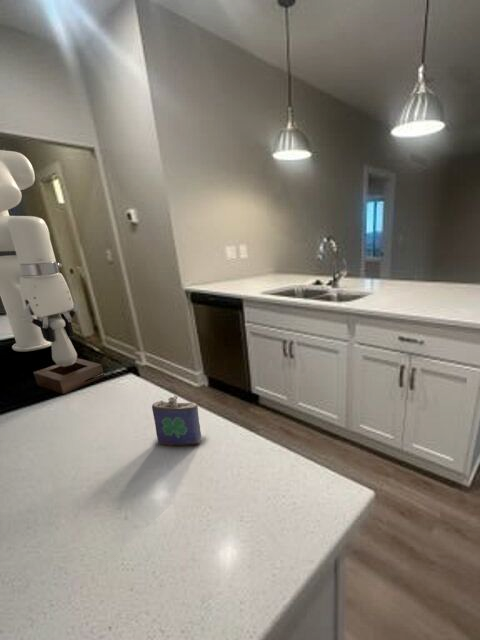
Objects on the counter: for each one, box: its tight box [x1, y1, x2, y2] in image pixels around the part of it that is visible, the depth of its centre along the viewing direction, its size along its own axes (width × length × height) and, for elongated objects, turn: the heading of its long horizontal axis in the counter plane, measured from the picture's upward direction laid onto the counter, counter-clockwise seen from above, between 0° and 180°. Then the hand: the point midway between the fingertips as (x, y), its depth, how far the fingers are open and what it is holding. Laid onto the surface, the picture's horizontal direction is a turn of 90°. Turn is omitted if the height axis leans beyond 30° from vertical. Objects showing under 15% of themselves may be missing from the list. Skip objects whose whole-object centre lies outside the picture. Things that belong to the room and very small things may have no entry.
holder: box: [33, 357, 105, 395], centre depth 98 cm, size 12×12×4 cm
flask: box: [151, 395, 203, 447], centre depth 70 cm, size 9×3×11 cm, turn 87°
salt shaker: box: [48, 317, 78, 367], centre depth 94 cm, size 6×6×13 cm
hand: (59, 337), depth 94 cm, fingers closed on salt shaker, 4 cm apart
